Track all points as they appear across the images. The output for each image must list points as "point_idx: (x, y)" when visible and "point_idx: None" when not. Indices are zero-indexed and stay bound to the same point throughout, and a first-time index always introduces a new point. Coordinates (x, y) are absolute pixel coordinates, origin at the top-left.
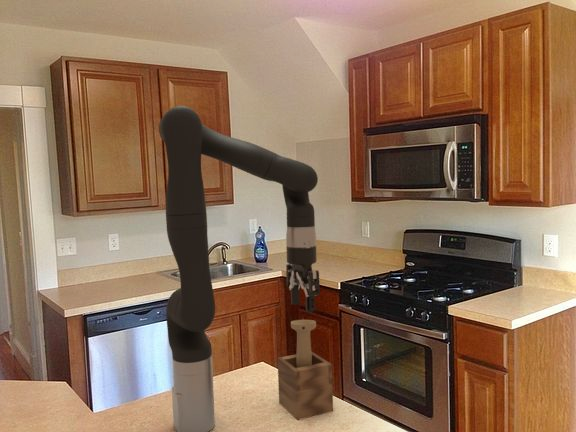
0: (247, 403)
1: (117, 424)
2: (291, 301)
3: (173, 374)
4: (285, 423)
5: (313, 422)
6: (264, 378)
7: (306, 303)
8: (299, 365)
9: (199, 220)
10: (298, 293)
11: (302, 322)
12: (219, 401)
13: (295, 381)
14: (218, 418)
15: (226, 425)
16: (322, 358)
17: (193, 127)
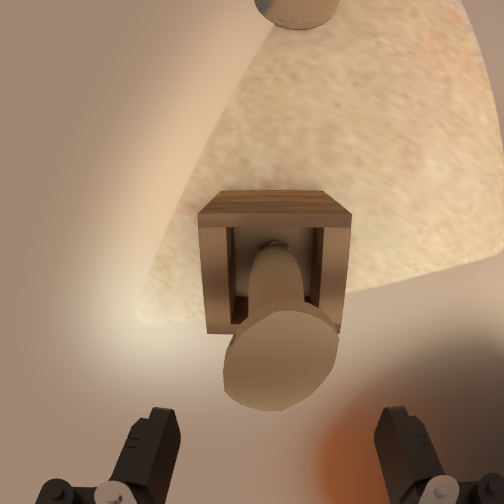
0: (355, 124)
1: None
2: (403, 416)
3: None
4: (217, 160)
5: (195, 216)
6: (451, 221)
7: (144, 446)
8: (263, 254)
9: None
10: (390, 486)
11: (279, 363)
12: (393, 77)
13: (209, 207)
14: (311, 42)
15: (270, 46)
16: None
17: None
